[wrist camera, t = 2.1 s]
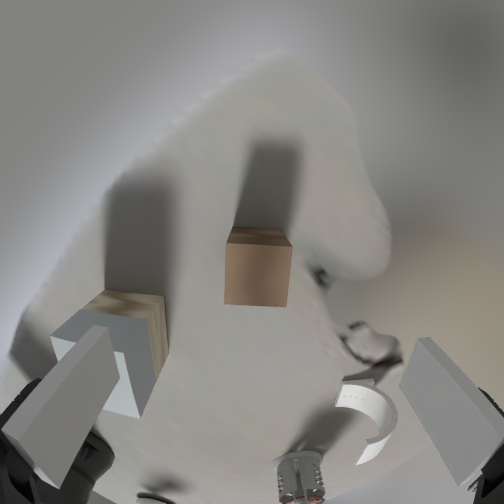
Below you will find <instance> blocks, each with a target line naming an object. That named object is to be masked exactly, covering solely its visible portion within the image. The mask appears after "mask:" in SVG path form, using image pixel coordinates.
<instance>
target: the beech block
mask: <svg viewBox="0 0 504 504" xmlns="http://www.w3.org/2000/svg"><path fill="white" fill-rule="evenodd" d="M82 310H88V311H94V312H100V313H106V314H113V315H119V316H126V317H134V318H141V319H147V324H148V332H149V340H150V347H151V354H152V360H153V366H154V372H155V378H156V381H157V379H158V377H159V374H160V372H161V370H162V367H163V365H164V363H165V361H166V358H167V356H168V354H169V350H168V340H167V330H166V319H165V306H164V296H157V295H147V294H137V293H128V292H119V291H110V290H104V291H103V292H101V293H100V294H99V295H98V296H96V297H95V298H94V299H93V300H92V301H90V302H89V303H88V304H87V305H86V306H84V307H83V308H82Z"/></svg>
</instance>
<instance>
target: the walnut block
mask: <svg viewBox="0 0 504 504" xmlns="http://www.w3.org/2000/svg"><path fill="white" fill-rule="evenodd" d="M291 257H292V245H291V244H290V242H289V241H288V239H287V238H286V236H285V235H284V233H283V232H282V230H281V229H265V228H247V227H232V230H231V232H230V235H229V237H228V240H227V242H226V263H225V299H224V304H232V305H250V306H273V307H286V305H287V296H288V287H289V277H290V267H291Z"/></svg>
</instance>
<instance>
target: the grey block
mask: <svg viewBox="0 0 504 504" xmlns="http://www.w3.org/2000/svg"><path fill="white" fill-rule="evenodd" d="M93 325H98V326H104V327H109V331H110V336H111V341H112V346H113V350H114V355H115V359H116V363H117V367H118V371H119V375H120V379H119V381H118V383H117V384H116V386H115V388H114V389H113V391H112V393H111V395H110V396H109V398H108V400H107V401H106V403H105V405H104V407H103V408H102V409H104V410H107V411H111V412H115V413H119V414H123V415H127V416H131V417H135V418H141V416H142V413H143V411H144V409H145V406H146V404H147V402H148V399H149V397H150V394H151V392H152V390H153V387H154V385H155V383H156V378H155V372H154V366H153V360H152V354H151V347H150V340H149V332H148V324H147V319H141V318H134V317H126V316H119V315H113V314H106V313H100V312H94V311H88V310H82V309H80V310H79V311H78V312H77V313H76V314H74V315H73V316H72V317H71V318H70V319H69V320H67V321H66V322H65V323H64V324H63V325H62V326H60V327H59V328H58V329H57V330H56V331H55V332H54V333H53V334H51V335H50V338H51V341H52V345H53V348H54V351H55V354H56V357H57V360H58V362H59V361H60V360H61V359H62V357H63V356H64V355H65V354H66V353H67V352H68V351H69V350H70V349H71V348H72V347H73V346H74V345H75V344H76V343H77V342H78V340H79V339H80V338H81V337H82V336H83V335H84V334H85V333H86V332H87V331H88V330H89V329H90V328H91V327H92V326H93Z"/></svg>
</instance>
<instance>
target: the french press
mask: <svg viewBox="0 0 504 504" xmlns="http://www.w3.org/2000/svg"><path fill="white" fill-rule="evenodd" d="M322 461H323V457H322V455H321V454H320V453H317V452H315V451H296V452H291V453H288V454H284V455H282V456H280V457H278V458H276V459H275V460H274V461H273V462H272V463H271V468H272V469H273V470H274V471H275V472H276V473H277V477H278V482H279V483H278V488H279V489H278V491H279V493H280V494H279V501H280V502H281V503H283V504H322V503H323V502H324V500H325V499H324V498H323V496H324V494H325V488H324V487H323V486H321V485H324V484H323V482H322V481H321V480H323V479H322V476H321V471H320V464H321V463H322ZM316 471H318V473H317V472H316ZM314 474H315V475H314ZM316 476H319V478H317V477H316ZM280 477H282V478H281V479H280V480H279V478H280ZM317 481H319V482H320V483H317ZM281 482H283V483H282V484H281V485H279V484H280V483H281ZM282 487H284V488H283V489H282V490H280V489H281V488H282ZM314 489H318V490H316V491H315V492H313V490H314ZM288 493H290V494H292V496H288V495H286V494H288Z"/></svg>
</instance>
